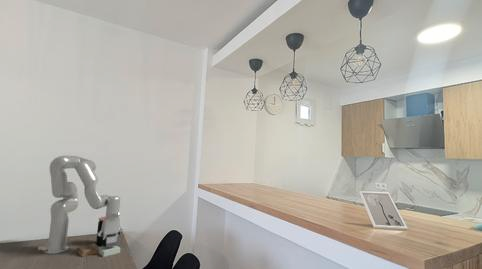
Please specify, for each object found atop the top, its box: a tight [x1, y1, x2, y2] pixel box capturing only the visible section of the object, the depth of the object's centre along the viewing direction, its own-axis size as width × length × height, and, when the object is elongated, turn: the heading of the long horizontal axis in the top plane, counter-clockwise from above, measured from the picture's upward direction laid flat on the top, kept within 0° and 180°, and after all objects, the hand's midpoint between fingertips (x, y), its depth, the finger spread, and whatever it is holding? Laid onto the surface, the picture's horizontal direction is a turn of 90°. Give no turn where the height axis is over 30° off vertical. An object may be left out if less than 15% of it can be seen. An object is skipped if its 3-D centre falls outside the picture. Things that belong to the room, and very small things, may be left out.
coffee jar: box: [95, 215, 106, 247], centre depth 176 cm, size 11×11×18 cm
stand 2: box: [97, 245, 121, 257], centre depth 162 cm, size 10×10×3 cm
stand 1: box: [76, 243, 99, 258], centre depth 160 cm, size 10×10×3 cm
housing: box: [102, 234, 118, 248], centre depth 162 cm, size 6×6×7 cm
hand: (109, 244), depth 162 cm, fingers closed on housing, 6 cm apart
